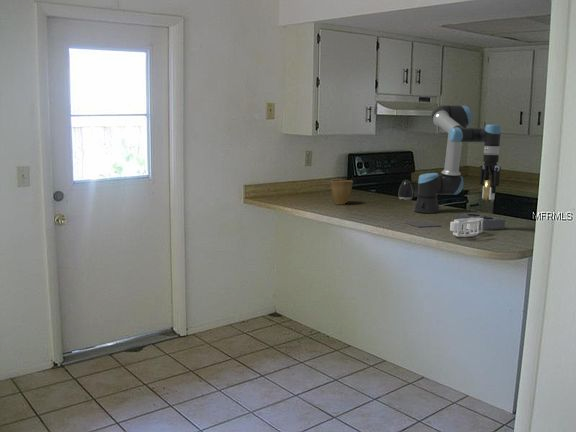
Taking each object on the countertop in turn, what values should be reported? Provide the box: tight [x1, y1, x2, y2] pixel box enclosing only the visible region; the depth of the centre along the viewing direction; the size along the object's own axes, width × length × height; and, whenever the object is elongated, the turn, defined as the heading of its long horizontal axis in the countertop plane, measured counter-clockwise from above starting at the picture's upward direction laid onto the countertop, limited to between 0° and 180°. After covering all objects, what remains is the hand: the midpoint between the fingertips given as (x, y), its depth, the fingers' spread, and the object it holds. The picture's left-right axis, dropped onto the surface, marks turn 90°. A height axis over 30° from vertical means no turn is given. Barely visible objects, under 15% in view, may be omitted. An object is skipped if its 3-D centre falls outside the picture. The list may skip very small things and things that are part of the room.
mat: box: [404, 220, 442, 228], centre depth 323 cm, size 14×14×1 cm
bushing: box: [482, 179, 494, 203], centre depth 315 cm, size 5×5×11 cm
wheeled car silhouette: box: [449, 218, 484, 238], centre depth 298 cm, size 20×11×7 cm, turn 118°
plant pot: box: [330, 179, 354, 204], centre depth 397 cm, size 15×15×16 cm
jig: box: [455, 212, 506, 231], centre depth 323 cm, size 24×13×5 cm, turn 20°
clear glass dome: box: [397, 179, 414, 201], centre depth 420 cm, size 10×10×15 cm
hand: (488, 198), depth 316 cm, fingers closed on bushing, 5 cm apart
